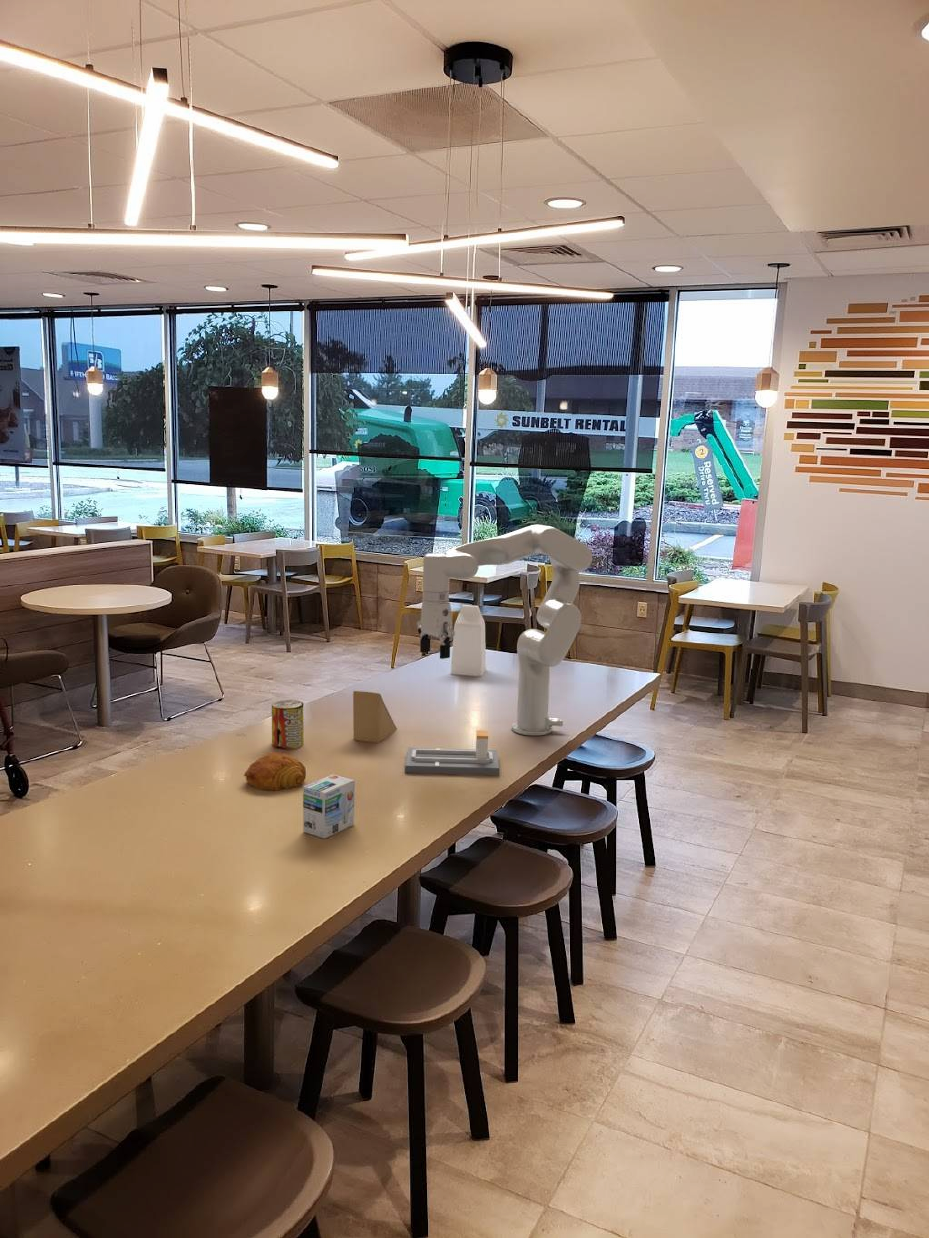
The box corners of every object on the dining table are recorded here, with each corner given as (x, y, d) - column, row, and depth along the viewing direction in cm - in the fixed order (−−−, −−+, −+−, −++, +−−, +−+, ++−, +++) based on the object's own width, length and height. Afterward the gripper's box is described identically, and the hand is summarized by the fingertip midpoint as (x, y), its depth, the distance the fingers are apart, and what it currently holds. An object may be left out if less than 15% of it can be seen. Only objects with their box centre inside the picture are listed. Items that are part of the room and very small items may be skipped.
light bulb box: (324, 839, 204) (325, 793, 202) (301, 832, 208) (301, 786, 206) (355, 824, 213) (355, 779, 211) (332, 817, 217) (332, 773, 215)
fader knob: (486, 754, 257) (487, 730, 256) (487, 760, 252) (488, 736, 251) (475, 753, 257) (476, 730, 256) (476, 759, 252) (476, 735, 251)
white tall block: (450, 674, 358) (452, 607, 353) (455, 667, 369) (457, 602, 364) (481, 676, 356) (483, 609, 351) (485, 669, 367) (488, 604, 362)
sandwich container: (398, 728, 287) (399, 681, 284) (379, 743, 272) (380, 693, 270) (372, 725, 289) (372, 678, 287) (352, 739, 275) (353, 690, 272)
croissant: (282, 776, 249) (280, 746, 249) (316, 783, 238) (314, 752, 238) (234, 786, 239) (232, 756, 239) (267, 795, 228) (265, 763, 228)
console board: (496, 756, 263) (496, 746, 262) (498, 775, 248) (499, 764, 247) (407, 754, 262) (408, 744, 262) (404, 772, 248) (405, 762, 247)
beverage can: (265, 745, 266) (264, 705, 264) (285, 737, 274) (285, 698, 272) (290, 751, 262) (290, 710, 260) (310, 742, 270) (309, 702, 268)
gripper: (464, 599, 262) (463, 659, 265) (429, 591, 275) (428, 648, 279) (443, 602, 258) (441, 662, 261) (408, 593, 271) (407, 650, 274)
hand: (434, 654), depth 270 cm, fingers open, 9 cm apart
